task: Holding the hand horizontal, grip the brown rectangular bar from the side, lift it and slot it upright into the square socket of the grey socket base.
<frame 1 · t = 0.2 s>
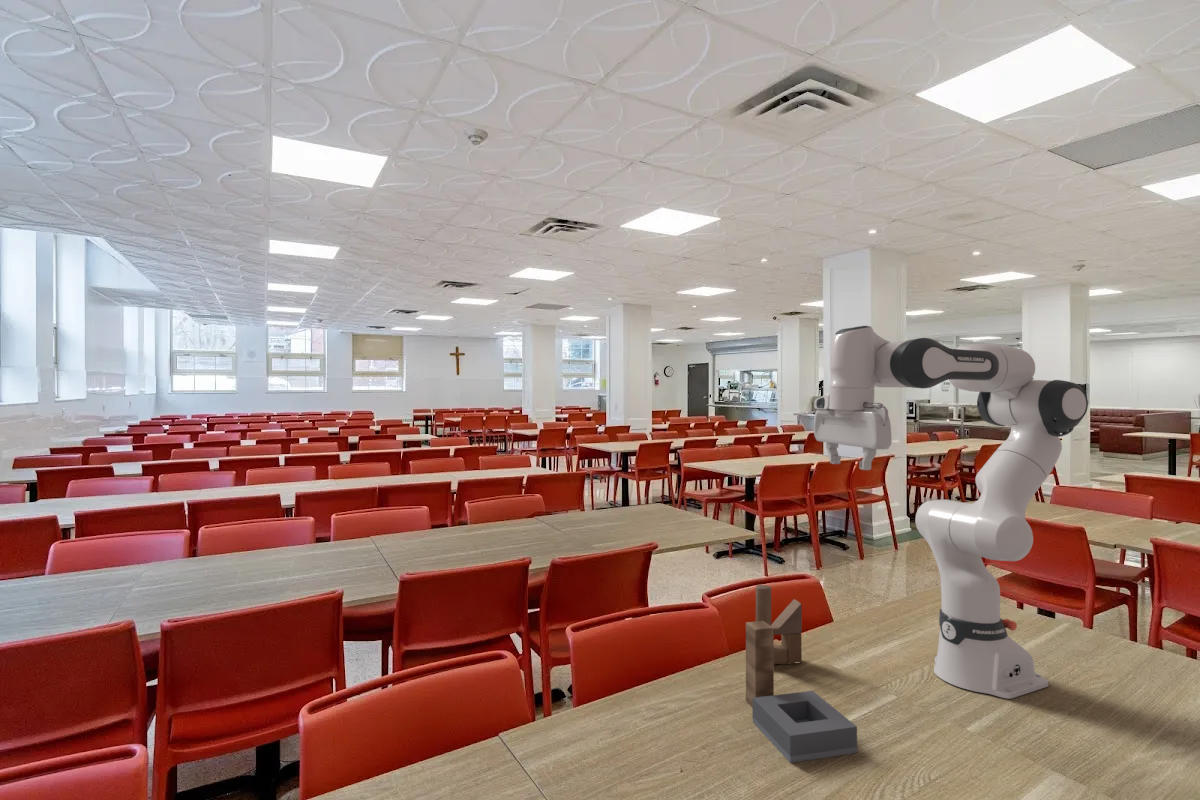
hand: (849, 466, 120), 48 cm above the table, tool pointing down, fingers open, 8 cm apart
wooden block: (777, 662, 134), on the table
grey socket base: (802, 736, 103), on the table
brown rectangular bar: (759, 704, 114), on the table
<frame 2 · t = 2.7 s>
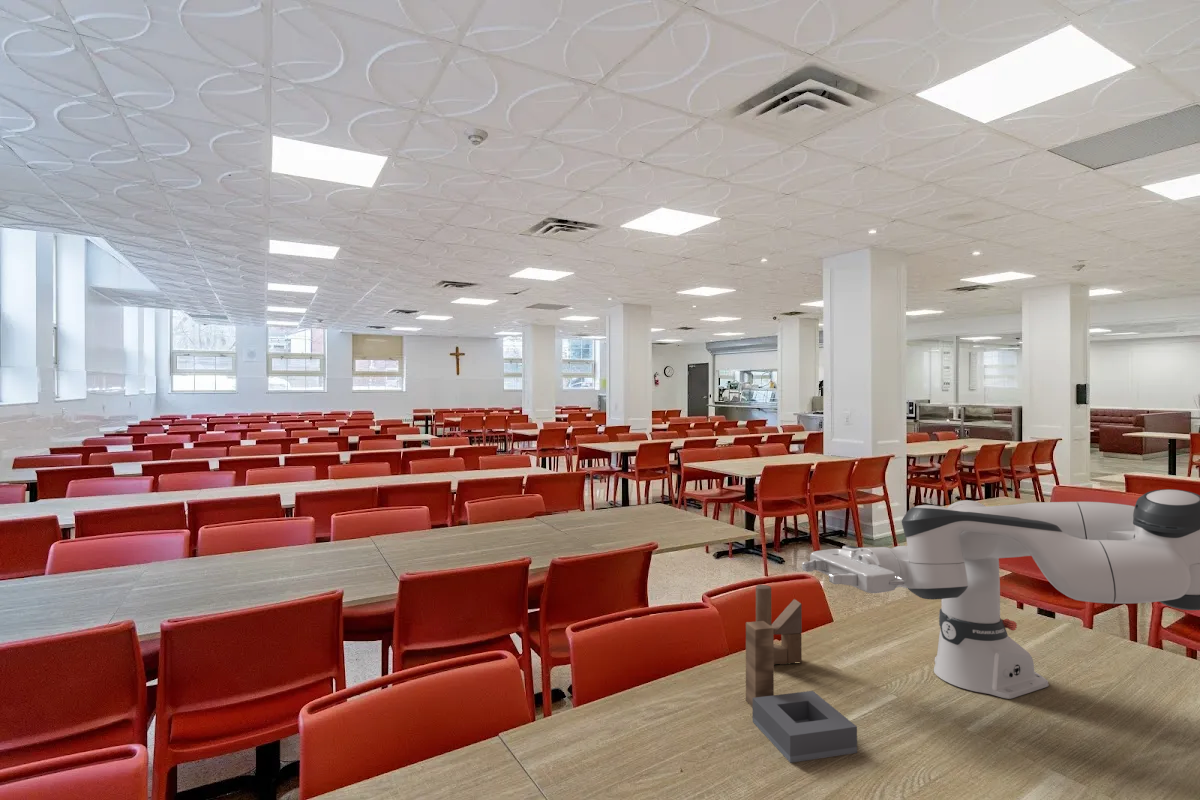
hand: (816, 572, 118), 26 cm above the table, tool horizontal, fingers open, 8 cm apart
nothing on the table moved.
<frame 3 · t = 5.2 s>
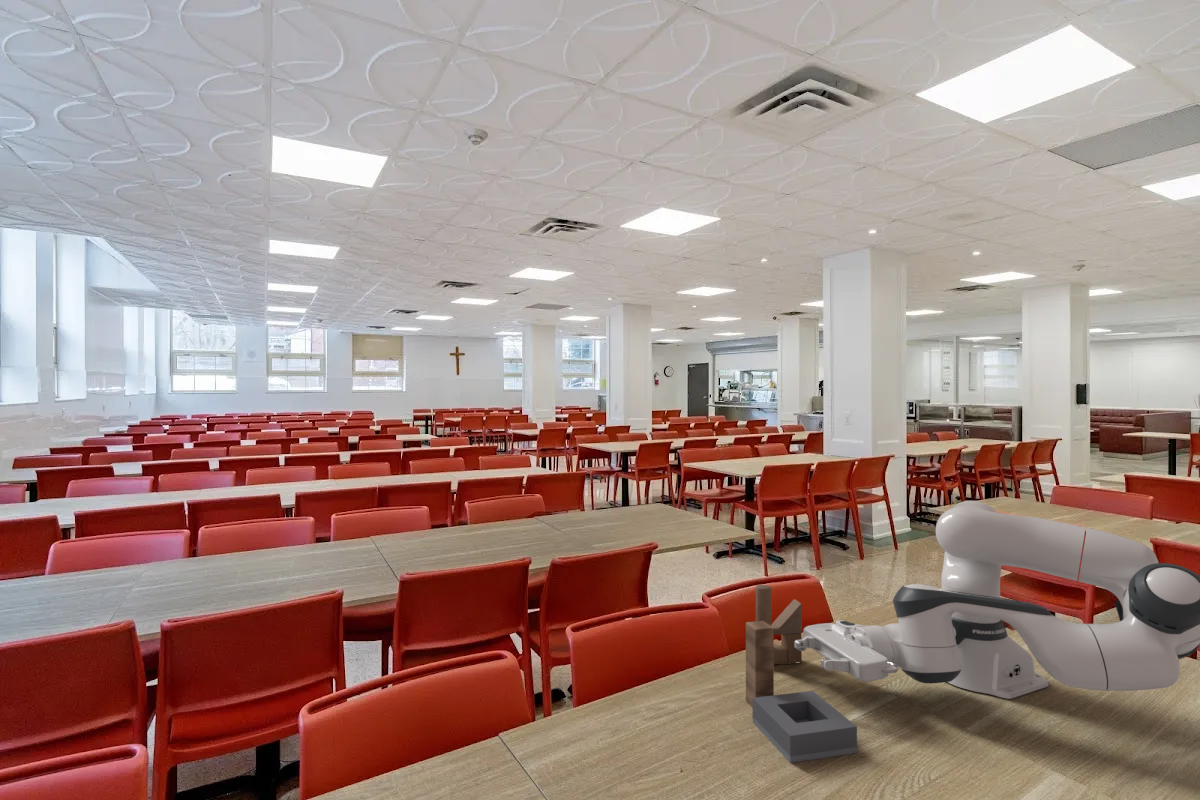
hand: (809, 654, 117), 9 cm above the table, tool horizontal, fingers open, 8 cm apart
nothing on the table moved.
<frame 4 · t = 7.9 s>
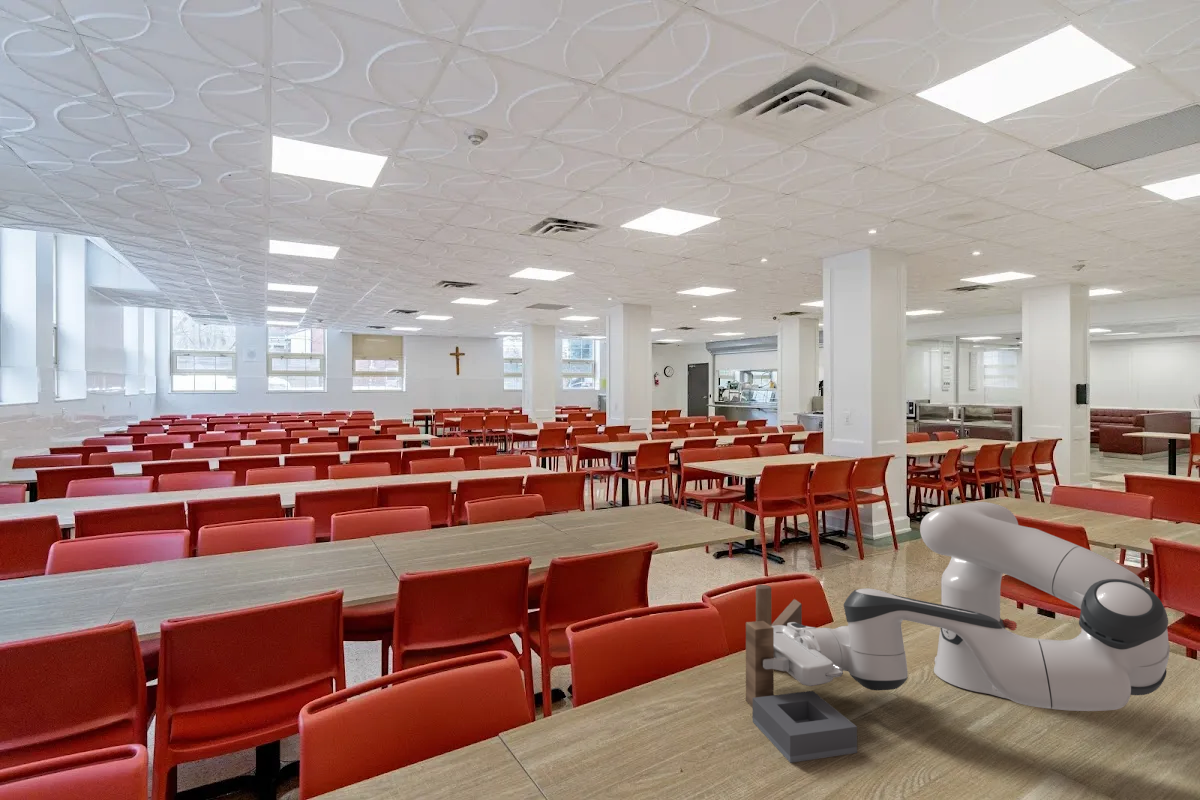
hand: (755, 657, 114), 10 cm above the table, tool horizontal, fingers closed on brown rectangular bar, 4 cm apart
brown rectangular bar: (759, 704, 114), on the table, touching gripper
everything else where it was.
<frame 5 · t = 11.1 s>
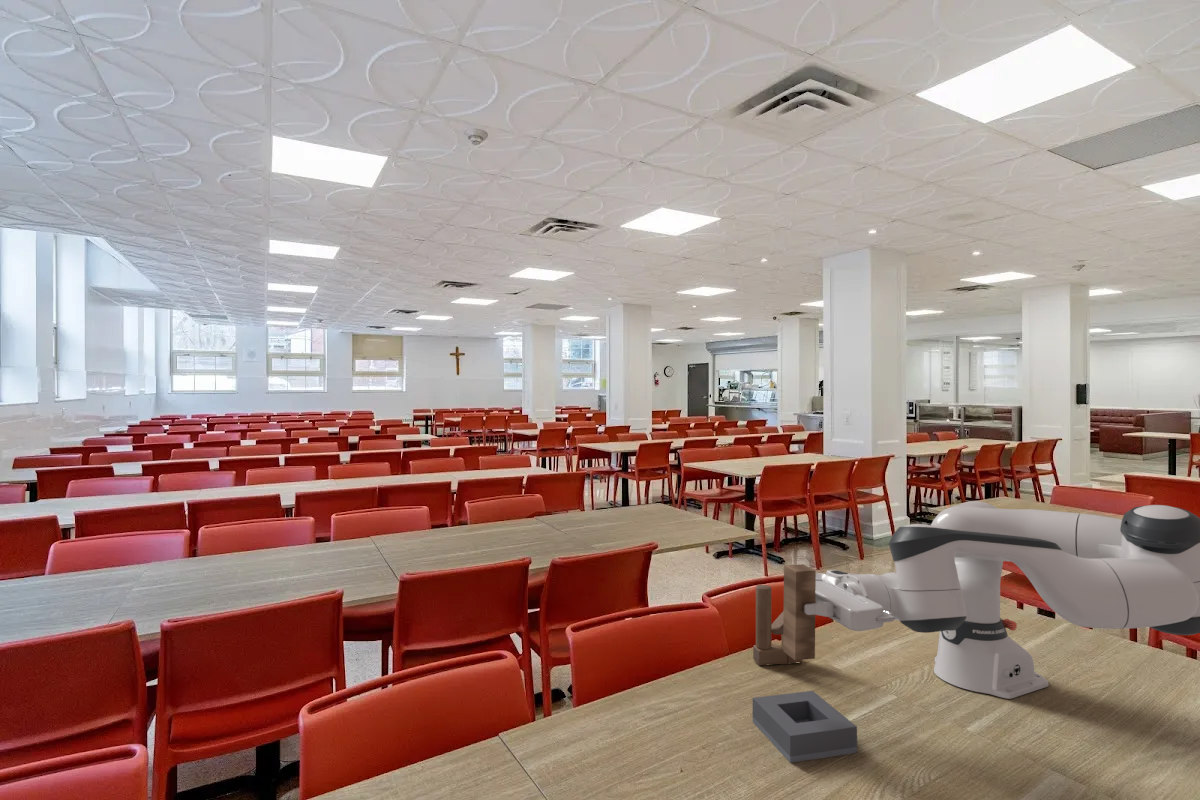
hand: (795, 603, 104), 24 cm above the table, tool horizontal, fingers closed on brown rectangular bar, 4 cm apart
brown rectangular bar: (798, 654, 104), point 15 cm above the table, touching gripper
everything else where it was.
when the fingers open (12 cm above the table, at t = 14.4 s): brown rectangular bar drops 1 cm, resting on grey socket base.
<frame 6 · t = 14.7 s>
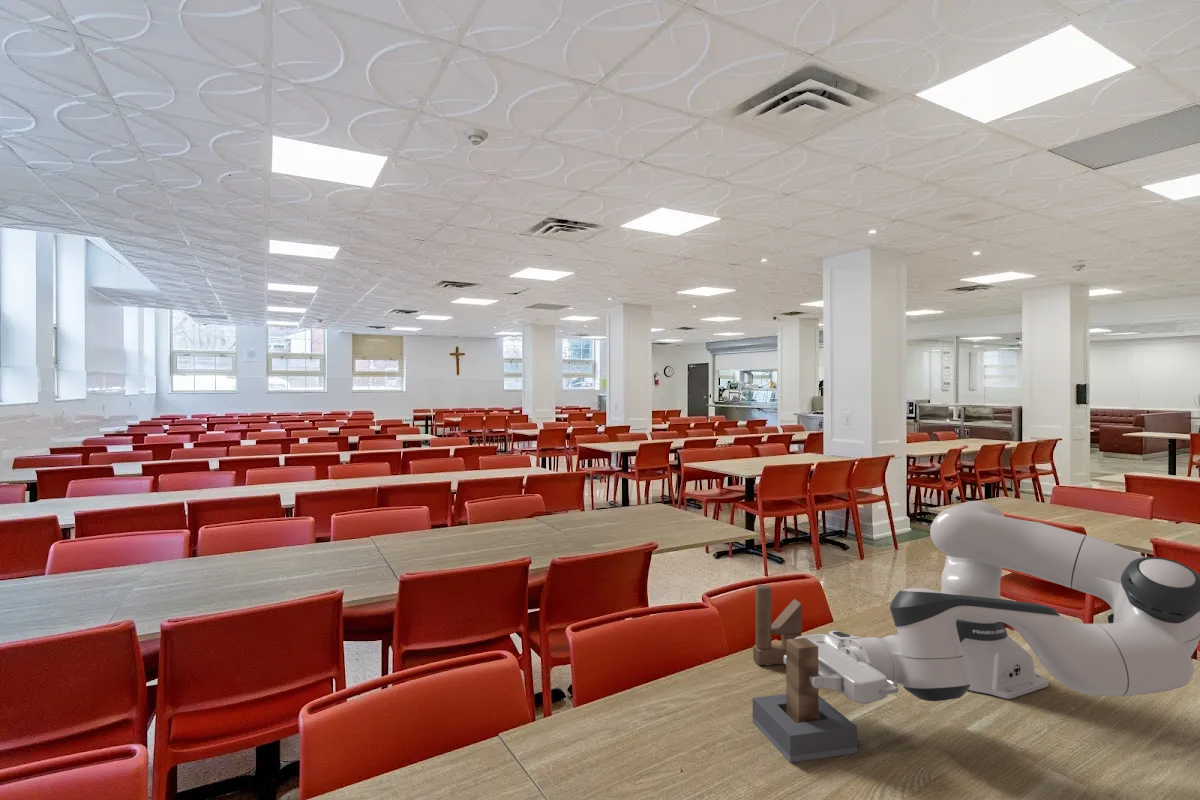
hand: (797, 670, 103), 12 cm above the table, tool horizontal, fingers open, 7 cm apart
brown rectangular bar: (802, 731, 103), point 1 cm above the table, touching grey socket base
everything else where it was.
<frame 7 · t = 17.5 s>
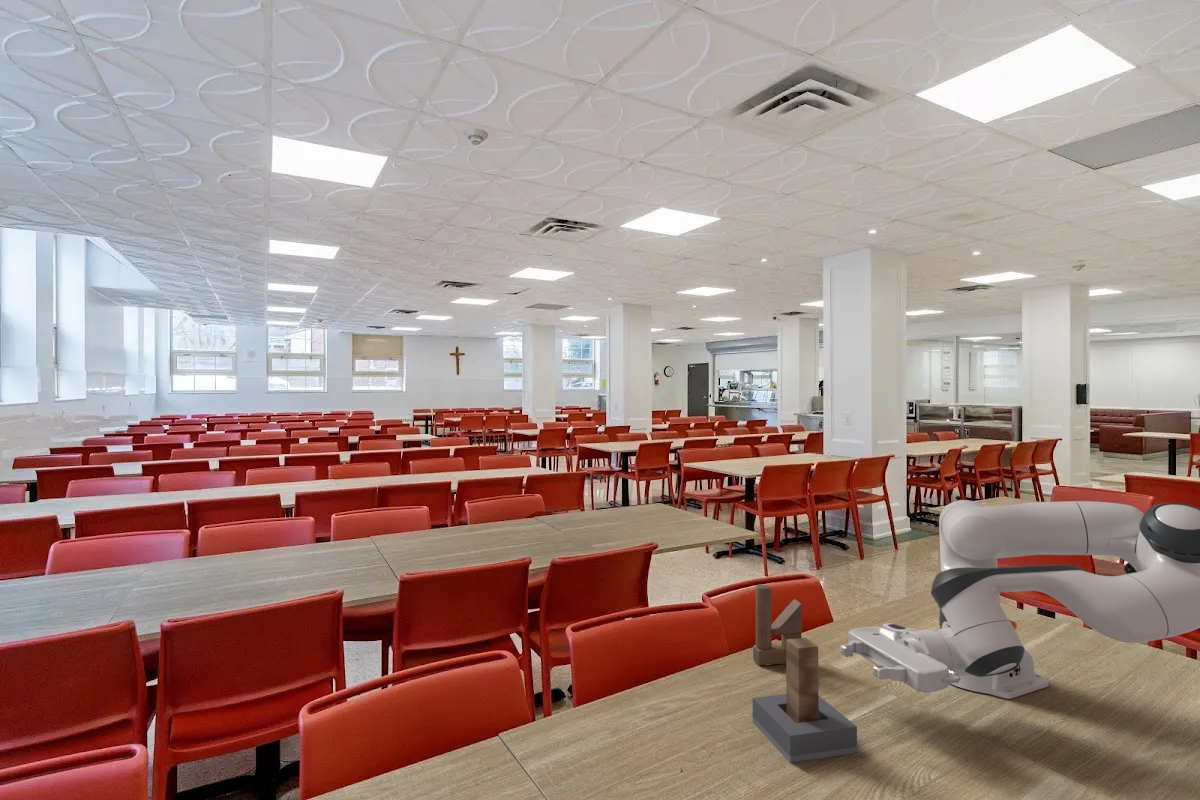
hand: (858, 661, 106), 12 cm above the table, tool horizontal, fingers open, 8 cm apart
nothing on the table moved.
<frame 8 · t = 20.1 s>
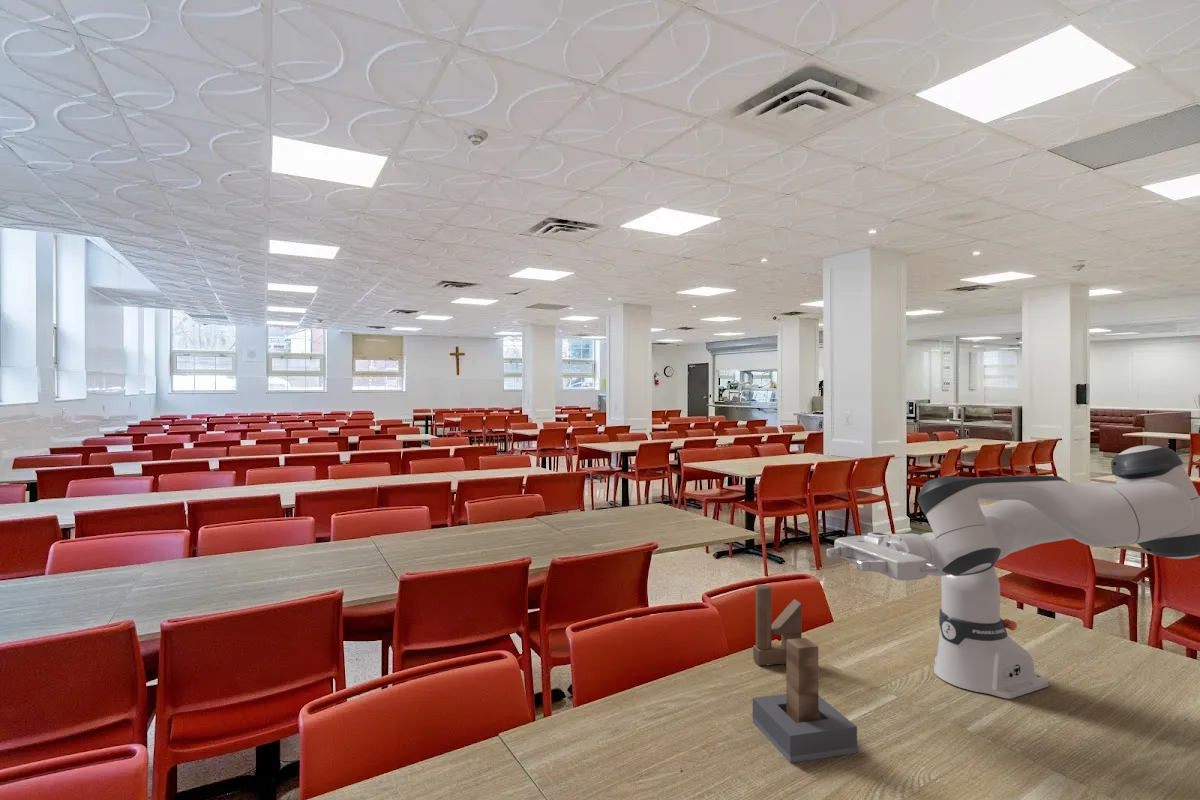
hand: (843, 559, 112), 30 cm above the table, tool horizontal, fingers open, 8 cm apart
nothing on the table moved.
at the end: brown rectangular bar 0.0 cm off-centre on the grey socket base, point 1.0 cm above the grey socket base's base; brown rectangular bar tilted 0°; the gripper is holding nothing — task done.
